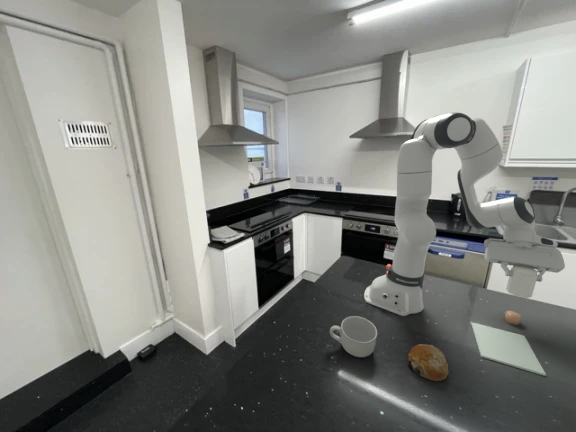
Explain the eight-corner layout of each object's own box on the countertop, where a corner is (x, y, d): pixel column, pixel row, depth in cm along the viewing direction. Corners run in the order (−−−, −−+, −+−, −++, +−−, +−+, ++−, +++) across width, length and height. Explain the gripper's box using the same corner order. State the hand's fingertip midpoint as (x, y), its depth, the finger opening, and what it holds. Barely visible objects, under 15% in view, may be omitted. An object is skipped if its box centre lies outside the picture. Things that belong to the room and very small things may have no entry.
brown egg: (506, 323, 85) (508, 315, 84) (502, 316, 89) (504, 309, 88) (521, 326, 83) (523, 319, 83) (517, 319, 87) (519, 312, 86)
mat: (481, 356, 72) (481, 355, 71) (471, 323, 85) (471, 322, 85) (545, 376, 65) (545, 374, 65) (523, 337, 79) (524, 335, 79)
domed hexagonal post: (510, 294, 82) (516, 271, 80) (504, 286, 87) (510, 263, 85) (533, 299, 79) (540, 275, 77) (526, 290, 84) (533, 267, 82)
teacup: (375, 340, 78) (377, 319, 76) (375, 368, 68) (377, 344, 66) (332, 331, 83) (333, 311, 81) (327, 355, 73) (327, 333, 71)
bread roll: (444, 395, 64) (463, 376, 62) (409, 376, 65) (426, 356, 62) (430, 364, 74) (446, 346, 71) (400, 348, 74) (414, 330, 72)
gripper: (486, 233, 89) (487, 268, 83) (564, 242, 80) (571, 282, 74) (481, 241, 94) (482, 274, 88) (553, 250, 85) (559, 288, 79)
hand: (523, 278), depth 81 cm, fingers closed on domed hexagonal post, 6 cm apart
